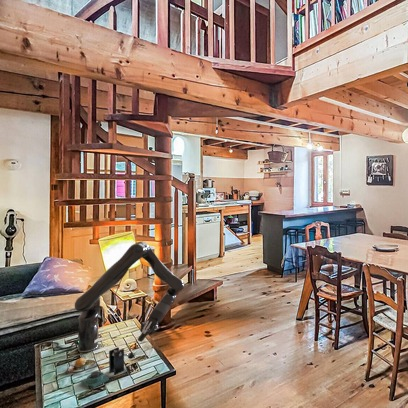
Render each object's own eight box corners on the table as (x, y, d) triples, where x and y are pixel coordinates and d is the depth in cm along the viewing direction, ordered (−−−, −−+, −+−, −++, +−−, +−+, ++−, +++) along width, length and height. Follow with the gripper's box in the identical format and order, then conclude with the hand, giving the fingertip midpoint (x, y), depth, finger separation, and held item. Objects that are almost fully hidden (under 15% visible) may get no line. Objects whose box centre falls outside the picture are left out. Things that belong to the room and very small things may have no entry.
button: (88, 377, 154) (88, 374, 154) (97, 373, 157) (97, 370, 157) (93, 379, 153) (93, 375, 153) (101, 375, 156) (101, 372, 156)
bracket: (118, 367, 169) (118, 344, 169) (130, 372, 165) (130, 348, 165) (102, 375, 162) (102, 351, 161) (114, 380, 158) (114, 355, 157)
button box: (81, 384, 154) (81, 377, 154) (96, 377, 160) (96, 369, 160) (93, 390, 150) (93, 382, 150) (109, 382, 157) (109, 374, 156)
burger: (101, 363, 173) (101, 350, 173) (83, 376, 161) (83, 361, 161) (80, 362, 173) (79, 349, 173) (60, 375, 161) (60, 360, 161)
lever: (130, 358, 171) (133, 352, 173) (134, 359, 170) (137, 353, 172) (110, 355, 162) (113, 349, 163) (114, 357, 161) (117, 350, 162)
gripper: (147, 306, 185) (126, 335, 174) (163, 310, 180) (142, 341, 169) (156, 312, 190) (136, 341, 179) (171, 316, 185) (152, 346, 174)
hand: (139, 341), depth 174 cm, fingers closed
